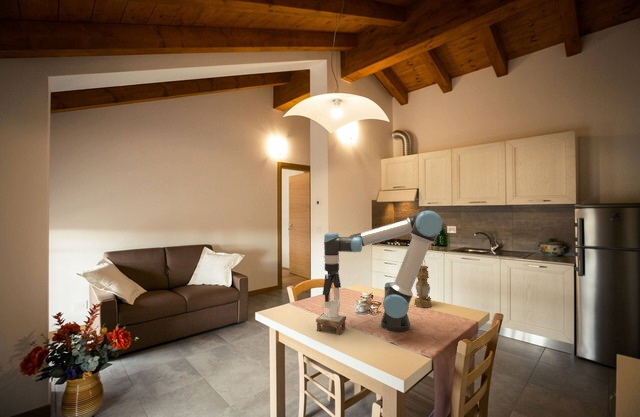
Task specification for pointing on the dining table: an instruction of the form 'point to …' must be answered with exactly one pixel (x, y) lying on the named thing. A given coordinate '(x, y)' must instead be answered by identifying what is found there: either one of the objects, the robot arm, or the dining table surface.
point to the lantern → (423, 288)
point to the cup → (333, 309)
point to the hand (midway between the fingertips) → (332, 303)
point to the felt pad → (325, 317)
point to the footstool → (331, 324)
